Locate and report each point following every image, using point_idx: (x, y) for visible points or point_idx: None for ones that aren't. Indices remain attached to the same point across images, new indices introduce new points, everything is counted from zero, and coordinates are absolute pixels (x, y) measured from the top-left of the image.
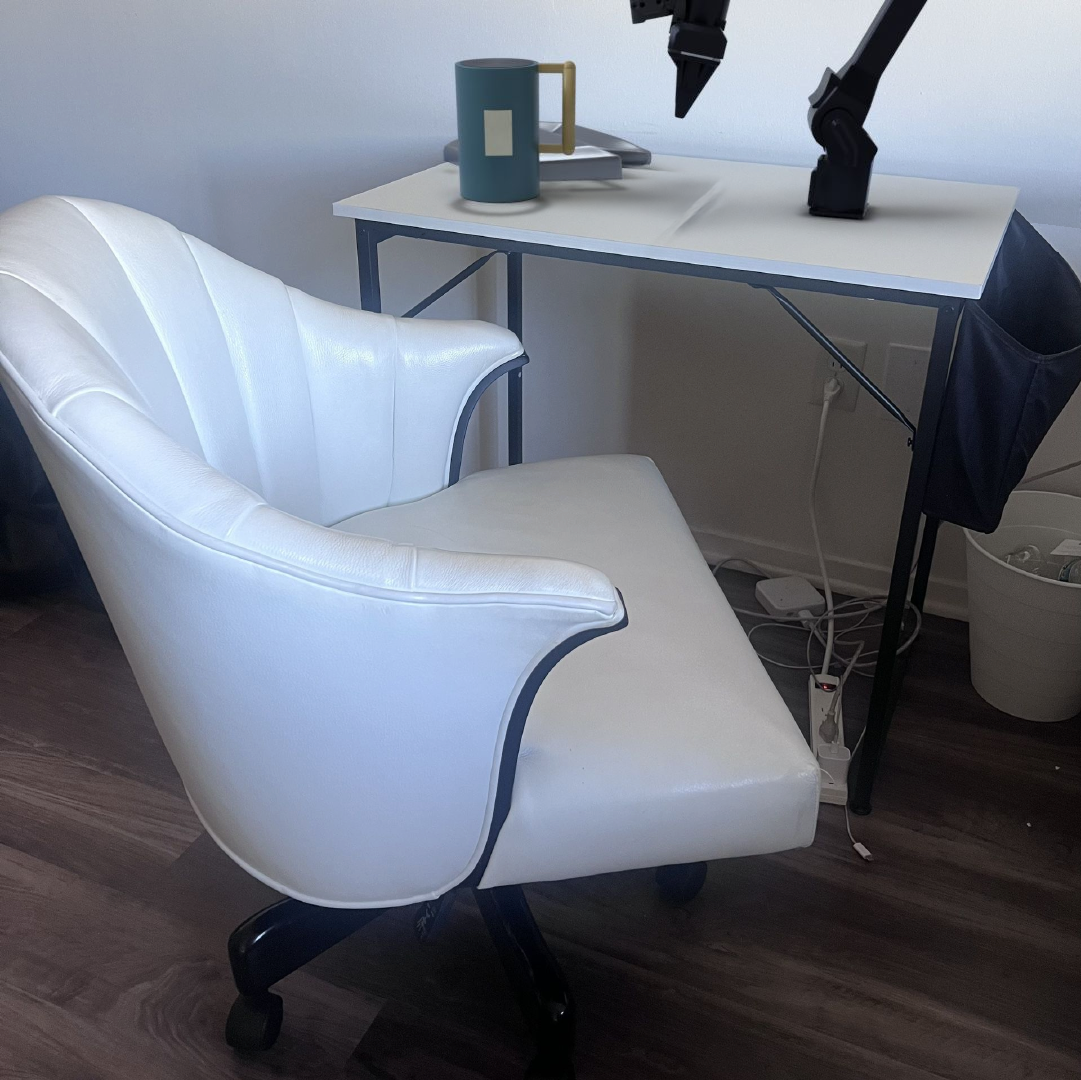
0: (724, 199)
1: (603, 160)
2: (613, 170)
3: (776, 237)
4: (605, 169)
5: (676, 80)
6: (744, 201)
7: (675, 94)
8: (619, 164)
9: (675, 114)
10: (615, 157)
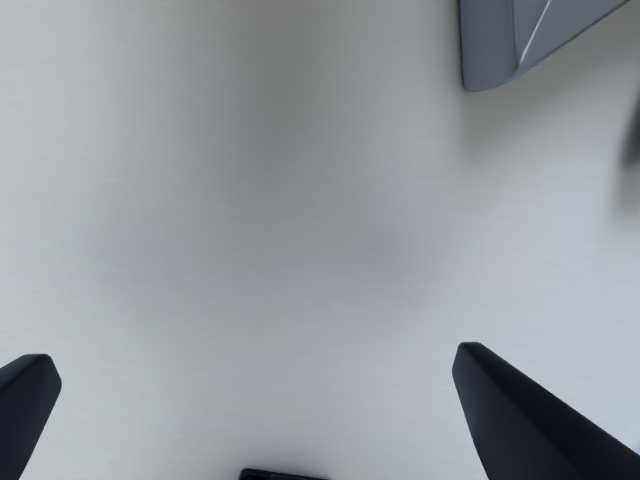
0: (359, 334)
1: (503, 12)
2: (485, 59)
3: (68, 416)
4: (485, 30)
5: (550, 438)
6: (344, 369)
7: (487, 369)
8: (496, 76)
9: (13, 362)
10: (511, 56)
